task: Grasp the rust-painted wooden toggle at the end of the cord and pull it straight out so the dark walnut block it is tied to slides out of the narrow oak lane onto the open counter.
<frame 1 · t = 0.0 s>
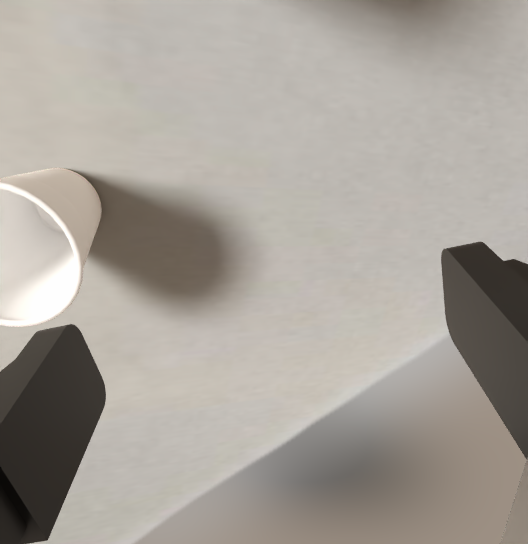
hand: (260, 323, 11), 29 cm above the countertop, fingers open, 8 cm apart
cup: (66, 203, 40), on the countertop
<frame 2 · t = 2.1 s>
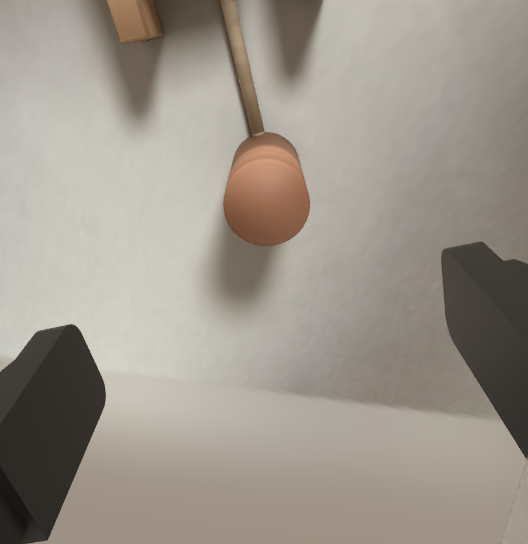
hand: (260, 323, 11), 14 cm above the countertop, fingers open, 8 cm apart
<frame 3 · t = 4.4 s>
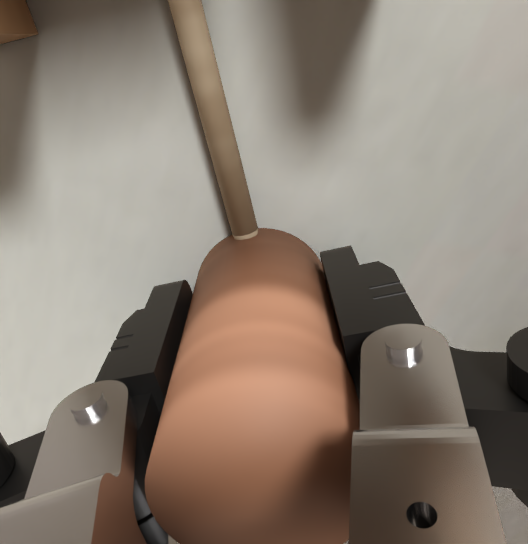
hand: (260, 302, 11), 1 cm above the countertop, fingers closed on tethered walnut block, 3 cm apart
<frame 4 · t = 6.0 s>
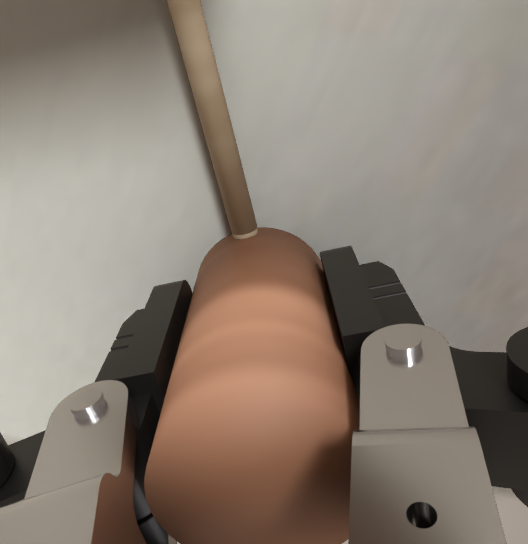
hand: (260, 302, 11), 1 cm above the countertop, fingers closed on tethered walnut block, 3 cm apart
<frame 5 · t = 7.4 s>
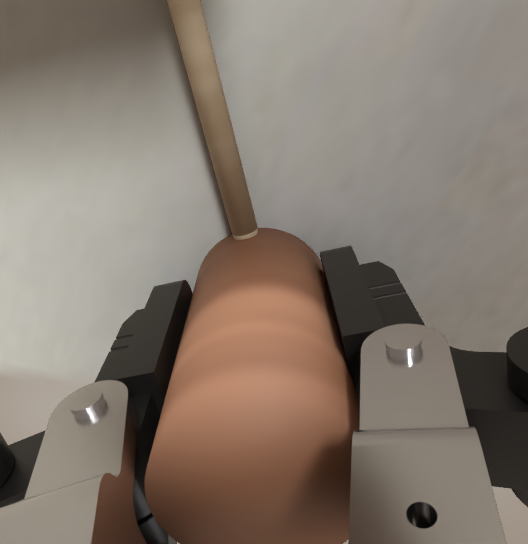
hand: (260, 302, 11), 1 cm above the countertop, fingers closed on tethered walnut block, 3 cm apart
when the fingers open (1 cm above the countertop, at t = 7.8 s): tethered walnut block stays where it is, on the countertop.
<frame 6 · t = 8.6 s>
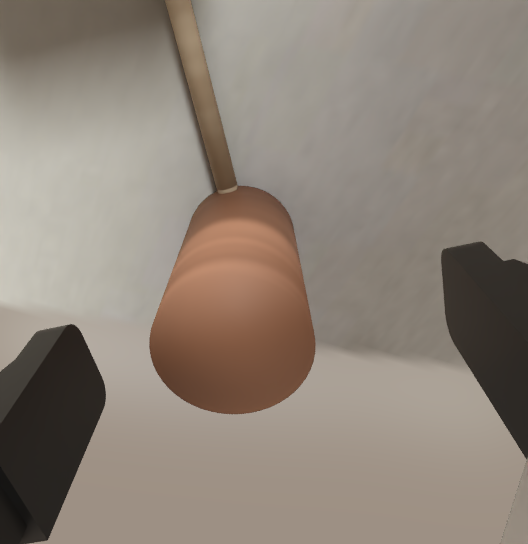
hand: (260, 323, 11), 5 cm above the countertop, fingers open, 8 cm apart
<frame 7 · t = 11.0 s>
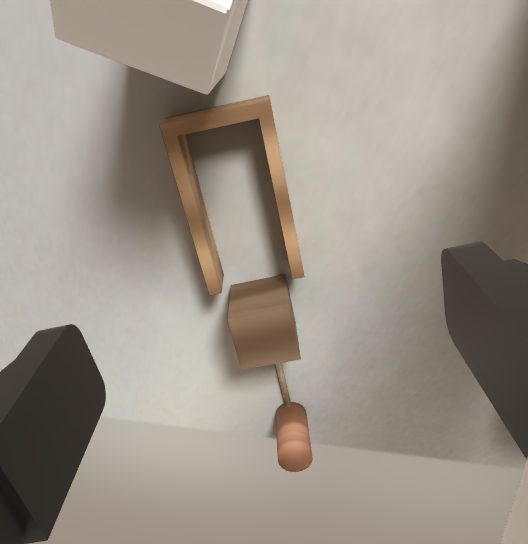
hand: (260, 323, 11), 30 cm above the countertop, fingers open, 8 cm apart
tethered walnut block: (263, 303, 45), on the countertop
milk carton: (193, 4, 35), on the countertop
oak lane: (238, 193, 40), on the countertop
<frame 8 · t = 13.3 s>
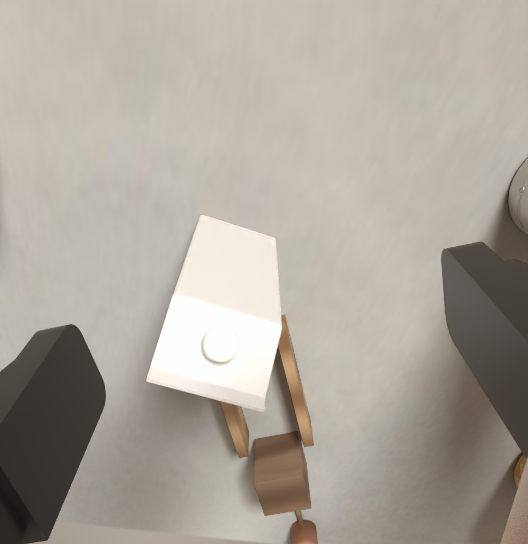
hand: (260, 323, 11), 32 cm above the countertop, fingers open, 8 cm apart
tethered walnut block: (280, 451, 56), on the countertop
milk carton: (227, 258, 45), on the countertop
oak lane: (261, 378, 51), on the countertop
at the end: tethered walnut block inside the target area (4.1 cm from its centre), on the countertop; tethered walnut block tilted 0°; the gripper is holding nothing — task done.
